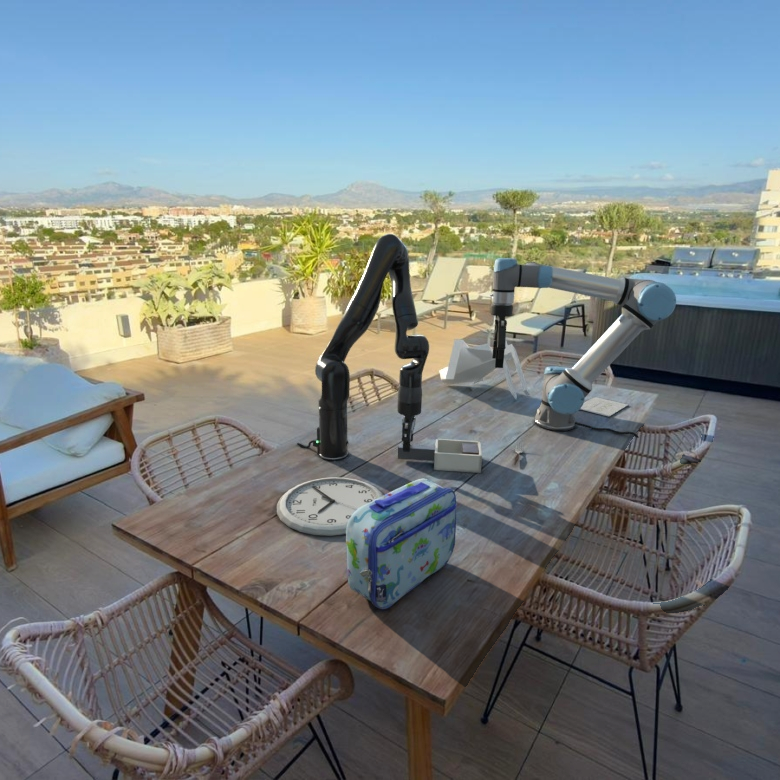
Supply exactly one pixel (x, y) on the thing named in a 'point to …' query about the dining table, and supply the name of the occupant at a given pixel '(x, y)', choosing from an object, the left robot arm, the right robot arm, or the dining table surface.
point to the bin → (445, 455)
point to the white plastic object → (479, 365)
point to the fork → (518, 452)
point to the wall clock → (324, 504)
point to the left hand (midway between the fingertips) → (407, 446)
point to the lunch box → (400, 540)
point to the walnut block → (470, 449)
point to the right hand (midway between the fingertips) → (497, 362)
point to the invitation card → (602, 406)
